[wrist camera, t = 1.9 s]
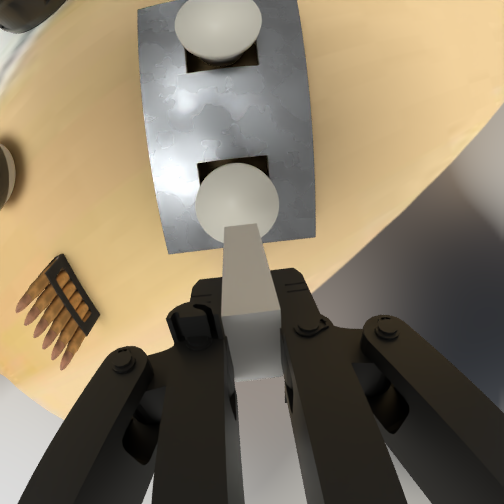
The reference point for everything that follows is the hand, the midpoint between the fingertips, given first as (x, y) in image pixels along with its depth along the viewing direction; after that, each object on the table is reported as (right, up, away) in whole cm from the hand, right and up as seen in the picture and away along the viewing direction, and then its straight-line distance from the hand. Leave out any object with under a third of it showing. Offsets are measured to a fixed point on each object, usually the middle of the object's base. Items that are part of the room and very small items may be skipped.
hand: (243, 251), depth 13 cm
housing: (-2, +14, +12) cm, 19 cm away
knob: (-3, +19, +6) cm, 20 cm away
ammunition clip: (-24, -5, +20) cm, 32 cm away
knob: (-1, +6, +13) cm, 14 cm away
